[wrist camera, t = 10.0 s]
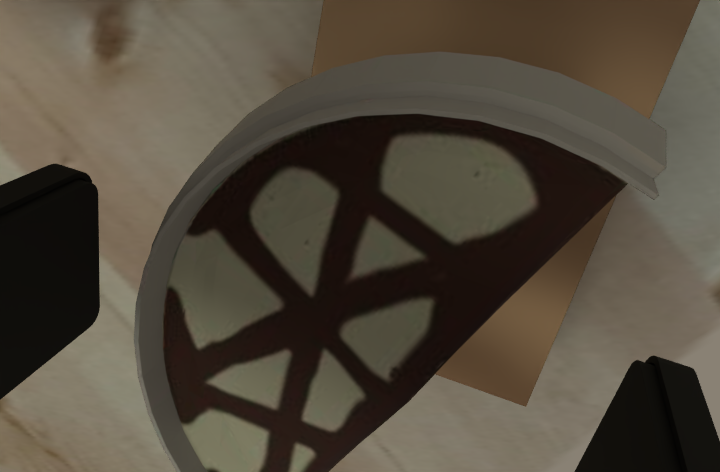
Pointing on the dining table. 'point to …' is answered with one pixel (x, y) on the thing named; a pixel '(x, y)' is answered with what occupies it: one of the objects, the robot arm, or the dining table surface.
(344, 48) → the plinth
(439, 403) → the dining table surface
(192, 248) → the food container
